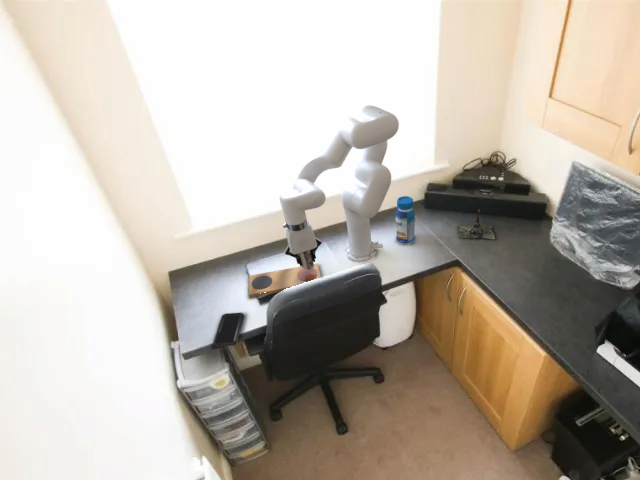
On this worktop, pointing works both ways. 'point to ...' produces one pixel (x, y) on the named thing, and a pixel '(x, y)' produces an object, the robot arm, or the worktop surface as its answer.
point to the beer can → (306, 260)
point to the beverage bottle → (405, 220)
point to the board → (280, 280)
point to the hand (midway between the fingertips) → (306, 261)
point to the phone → (228, 329)
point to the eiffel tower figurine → (476, 230)
